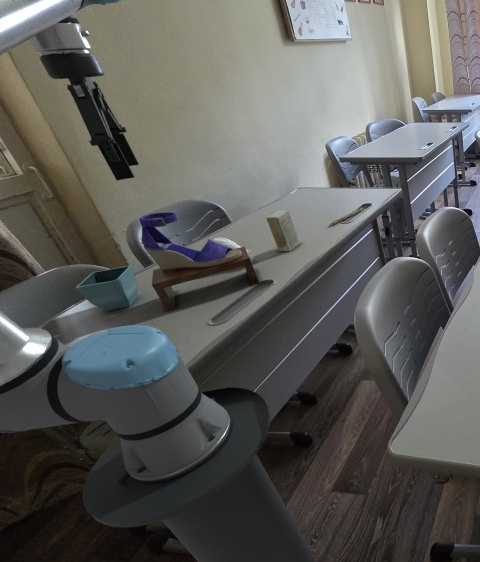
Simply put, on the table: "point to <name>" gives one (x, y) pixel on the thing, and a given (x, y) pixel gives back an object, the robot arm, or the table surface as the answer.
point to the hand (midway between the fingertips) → (128, 171)
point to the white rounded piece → (232, 245)
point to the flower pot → (110, 288)
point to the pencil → (346, 216)
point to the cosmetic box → (283, 230)
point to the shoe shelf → (195, 277)
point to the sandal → (180, 247)
